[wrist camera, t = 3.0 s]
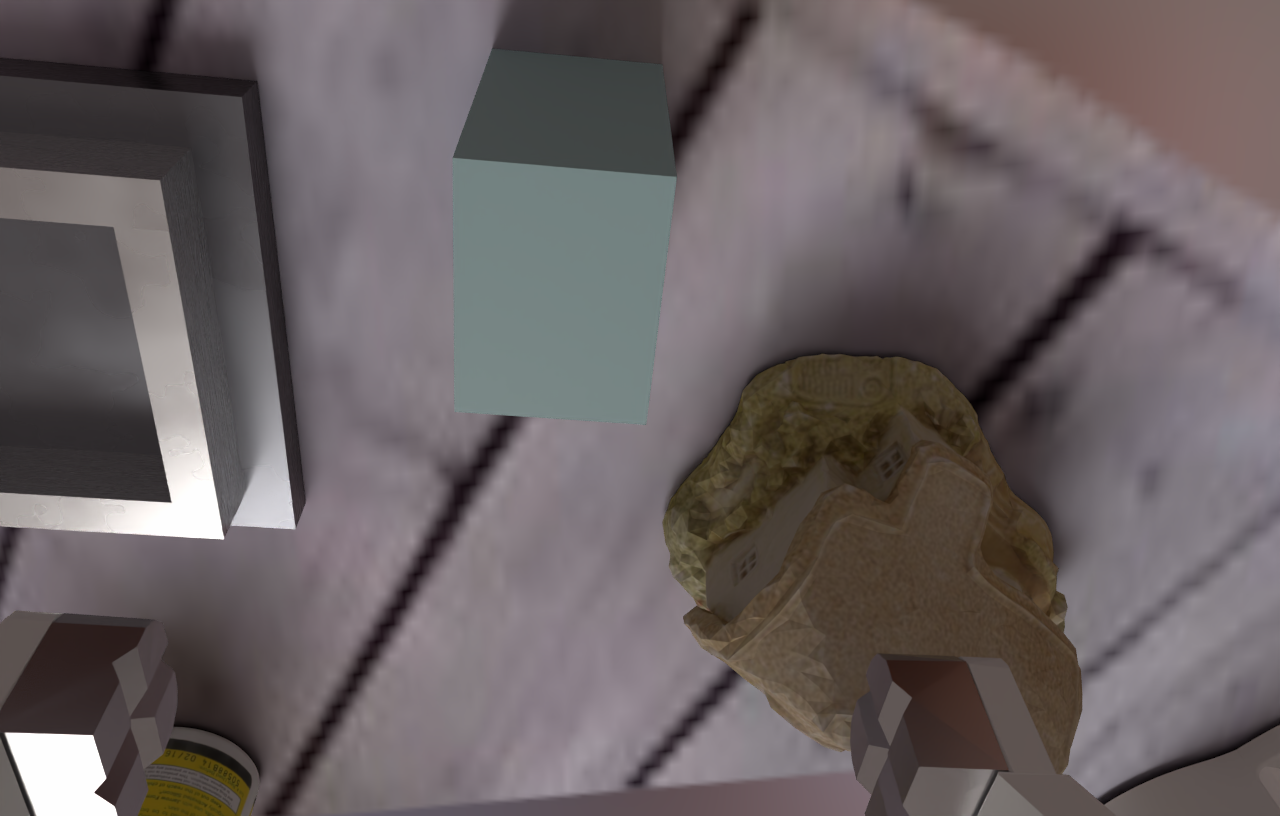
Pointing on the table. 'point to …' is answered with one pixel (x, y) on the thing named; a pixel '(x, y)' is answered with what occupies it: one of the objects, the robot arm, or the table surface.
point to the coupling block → (561, 237)
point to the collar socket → (140, 307)
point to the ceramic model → (866, 545)
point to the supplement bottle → (200, 777)
